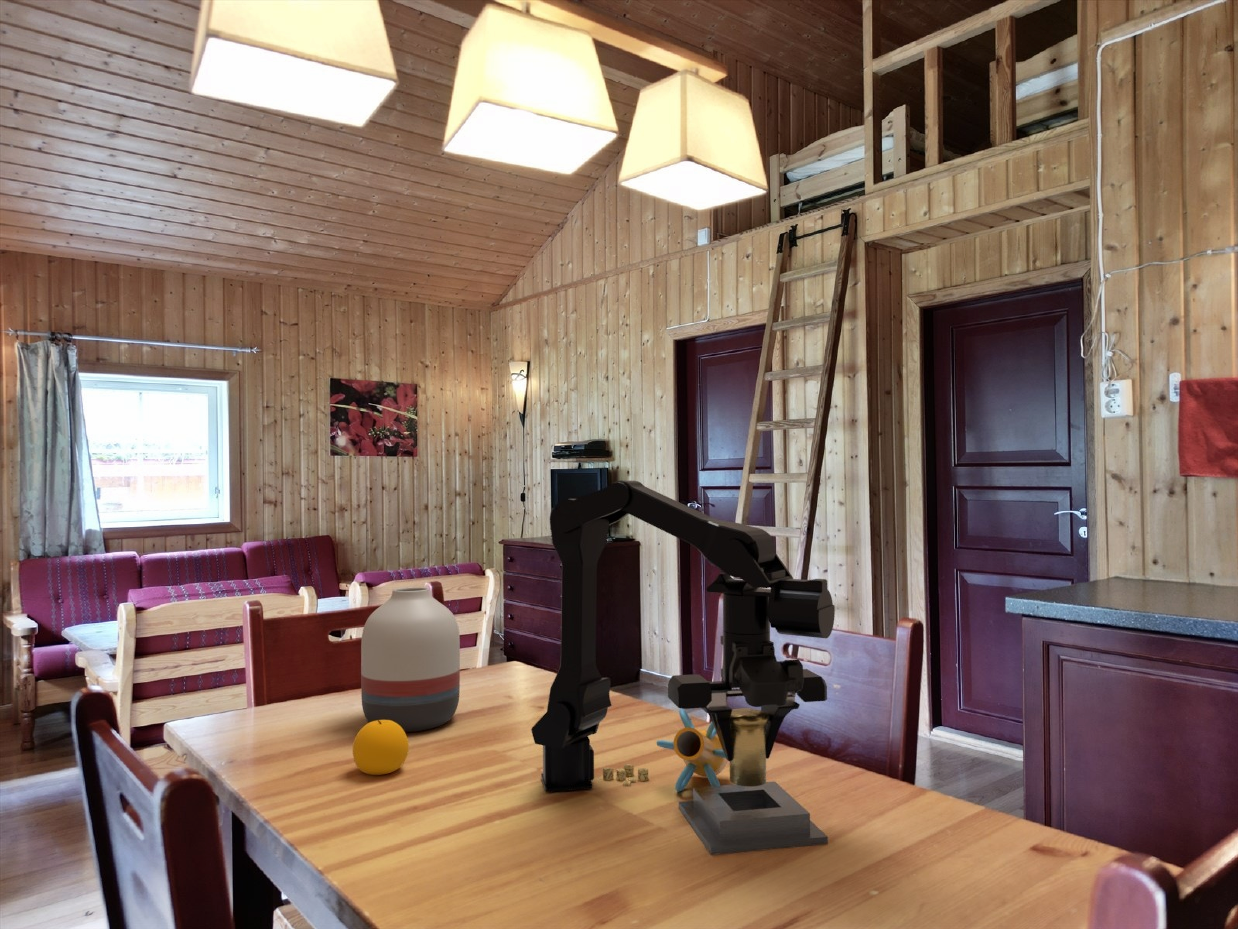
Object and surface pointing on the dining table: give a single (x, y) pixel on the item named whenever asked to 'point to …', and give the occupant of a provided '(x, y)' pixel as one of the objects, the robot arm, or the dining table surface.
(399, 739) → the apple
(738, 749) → the bushing
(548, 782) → the robot arm
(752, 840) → the plate
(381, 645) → the vase
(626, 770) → the mottled tan cylinder cluster
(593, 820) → the dining table surface
